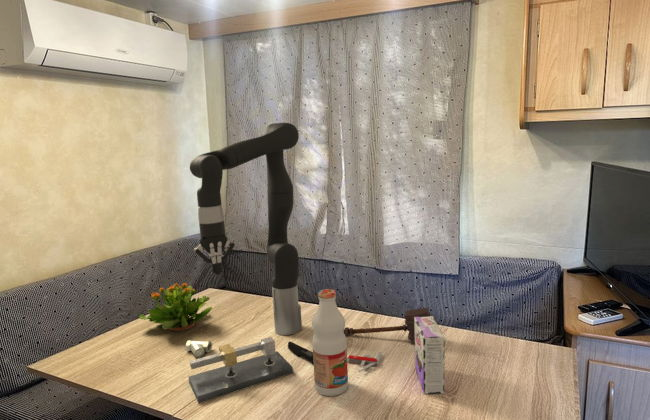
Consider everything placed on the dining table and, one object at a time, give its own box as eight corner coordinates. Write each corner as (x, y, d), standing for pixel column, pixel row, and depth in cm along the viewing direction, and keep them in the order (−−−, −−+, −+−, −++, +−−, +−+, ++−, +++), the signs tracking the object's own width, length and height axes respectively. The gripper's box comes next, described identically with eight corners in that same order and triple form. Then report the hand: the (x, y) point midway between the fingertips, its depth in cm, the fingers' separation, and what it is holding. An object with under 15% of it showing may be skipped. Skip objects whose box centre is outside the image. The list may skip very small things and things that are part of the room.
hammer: (435, 342, 143) (428, 313, 142) (341, 352, 152) (334, 325, 151) (435, 334, 149) (429, 306, 148) (345, 344, 159) (338, 318, 158)
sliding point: (230, 363, 133) (228, 341, 132) (238, 373, 127) (236, 351, 126) (220, 366, 132) (218, 344, 131) (227, 377, 125) (225, 354, 124)
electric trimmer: (294, 347, 148) (293, 338, 147) (323, 363, 136) (323, 353, 136) (285, 351, 146) (284, 342, 145) (314, 367, 134) (313, 358, 133)
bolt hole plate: (277, 356, 141) (277, 350, 141) (292, 373, 130) (292, 366, 130) (189, 382, 128) (188, 376, 128) (198, 403, 117) (197, 395, 117)
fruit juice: (320, 376, 128) (316, 285, 124) (351, 380, 125) (348, 287, 121) (310, 394, 119) (304, 296, 115) (343, 399, 116) (338, 299, 112)
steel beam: (269, 354, 138) (267, 333, 137) (276, 362, 132) (274, 340, 131) (191, 376, 126) (189, 354, 125) (195, 386, 121) (193, 362, 120)
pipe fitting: (203, 360, 142) (212, 349, 149) (201, 349, 141) (211, 339, 148) (181, 358, 144) (191, 347, 150) (179, 348, 143) (190, 337, 150)
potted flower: (191, 309, 186) (187, 269, 184) (229, 320, 173) (225, 277, 170) (137, 331, 166) (132, 287, 164) (175, 345, 153) (170, 297, 150)
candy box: (414, 368, 130) (413, 315, 128) (434, 367, 130) (433, 315, 127) (423, 394, 117) (422, 336, 114) (445, 394, 116) (445, 336, 114)
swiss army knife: (335, 372, 130) (334, 366, 130) (348, 350, 143) (348, 345, 143) (372, 377, 126) (372, 371, 126) (382, 355, 139) (382, 349, 139)
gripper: (228, 215, 141) (233, 267, 143) (187, 221, 134) (193, 275, 137) (236, 218, 134) (241, 272, 137) (192, 225, 128) (198, 281, 131)
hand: (217, 274), depth 137 cm, fingers closed
